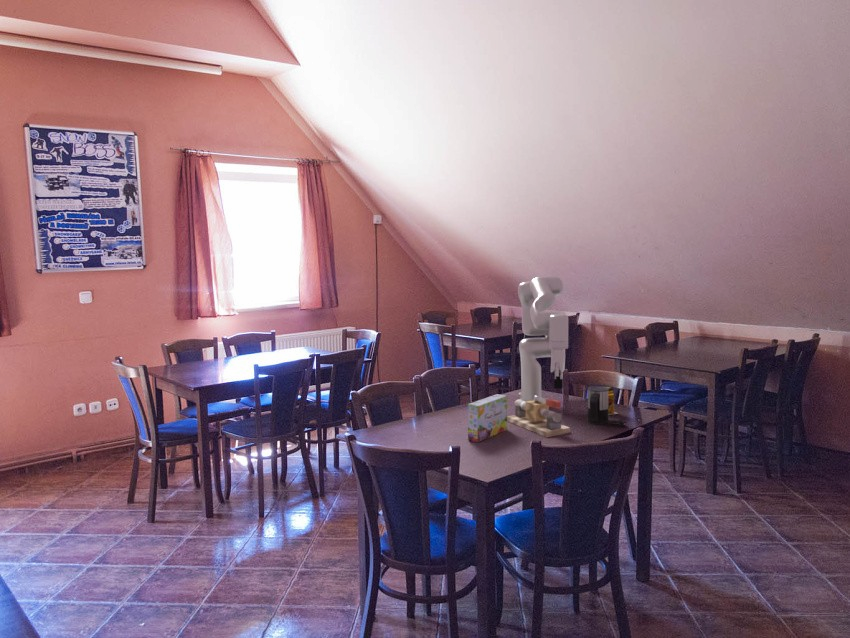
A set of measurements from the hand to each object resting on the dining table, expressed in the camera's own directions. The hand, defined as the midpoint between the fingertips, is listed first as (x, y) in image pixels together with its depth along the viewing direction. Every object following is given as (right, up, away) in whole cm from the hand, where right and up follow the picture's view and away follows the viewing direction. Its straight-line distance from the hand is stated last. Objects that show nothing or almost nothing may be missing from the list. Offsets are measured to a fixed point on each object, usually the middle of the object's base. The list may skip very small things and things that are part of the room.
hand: (558, 388), depth 262 cm
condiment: (+27, -14, +27) cm, 41 cm away
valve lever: (-4, -7, +2) cm, 9 cm away
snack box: (-29, -19, -1) cm, 35 cm away
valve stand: (-7, -17, +8) cm, 21 cm away
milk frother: (+23, -16, +10) cm, 30 cm away
